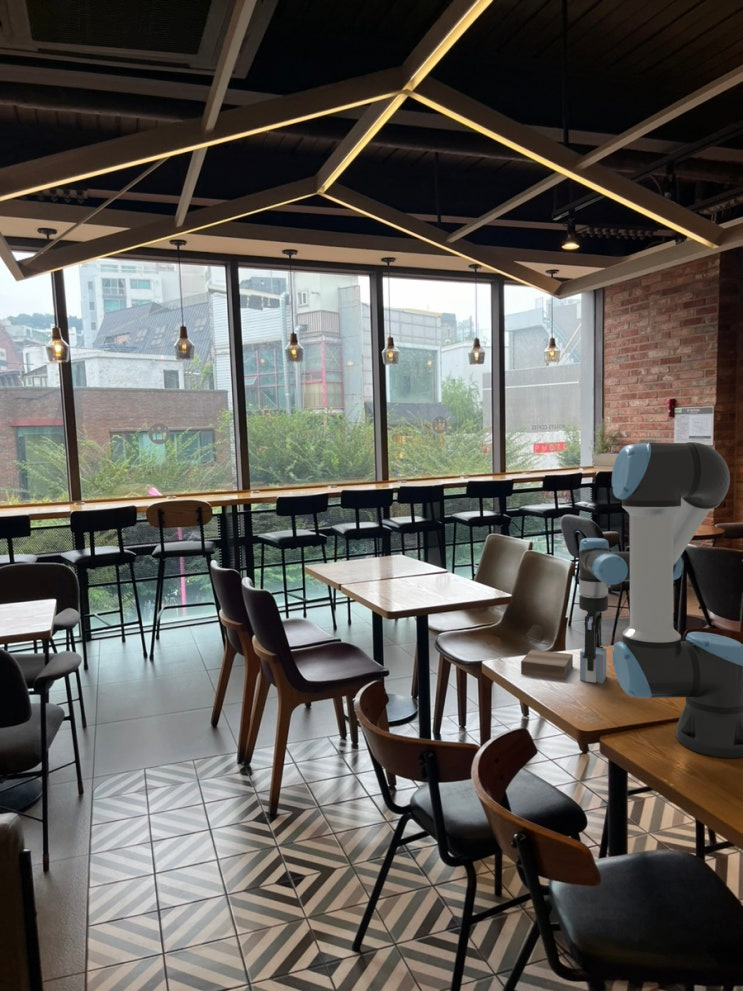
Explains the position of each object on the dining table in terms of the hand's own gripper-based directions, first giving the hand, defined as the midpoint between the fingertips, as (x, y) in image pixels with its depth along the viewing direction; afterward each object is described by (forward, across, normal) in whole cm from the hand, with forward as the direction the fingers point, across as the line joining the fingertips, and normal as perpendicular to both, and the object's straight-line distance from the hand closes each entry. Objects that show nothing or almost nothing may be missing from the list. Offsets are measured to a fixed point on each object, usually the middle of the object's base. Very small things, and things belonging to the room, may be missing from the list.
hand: (592, 677), depth 190 cm
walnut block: (+1, +2, +13) cm, 13 cm away
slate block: (0, 0, 0) cm, 0 cm away
